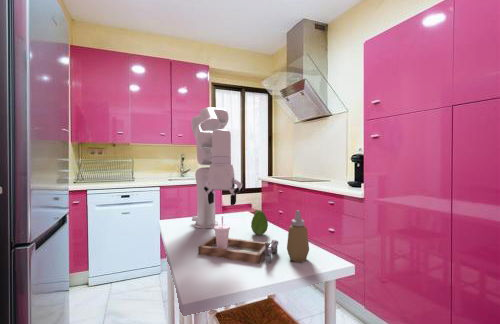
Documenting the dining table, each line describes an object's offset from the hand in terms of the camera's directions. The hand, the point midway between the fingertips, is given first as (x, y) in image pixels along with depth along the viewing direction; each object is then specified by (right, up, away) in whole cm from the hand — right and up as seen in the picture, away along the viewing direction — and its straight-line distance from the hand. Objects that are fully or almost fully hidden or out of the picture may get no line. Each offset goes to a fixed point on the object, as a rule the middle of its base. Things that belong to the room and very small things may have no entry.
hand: (221, 204), depth 100 cm
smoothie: (0, -19, +1) cm, 19 cm away
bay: (+5, -19, -1) cm, 20 cm away
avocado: (+16, -18, +21) cm, 32 cm away
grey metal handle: (+19, -19, -6) cm, 28 cm away
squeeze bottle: (+29, -19, -8) cm, 35 cm away
